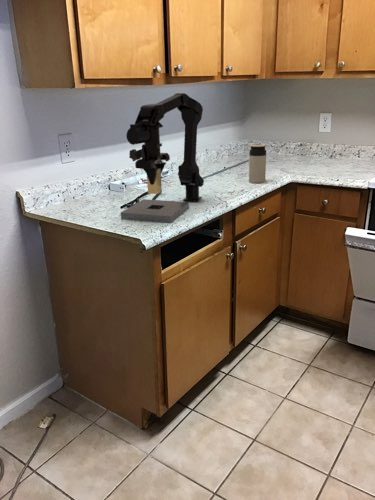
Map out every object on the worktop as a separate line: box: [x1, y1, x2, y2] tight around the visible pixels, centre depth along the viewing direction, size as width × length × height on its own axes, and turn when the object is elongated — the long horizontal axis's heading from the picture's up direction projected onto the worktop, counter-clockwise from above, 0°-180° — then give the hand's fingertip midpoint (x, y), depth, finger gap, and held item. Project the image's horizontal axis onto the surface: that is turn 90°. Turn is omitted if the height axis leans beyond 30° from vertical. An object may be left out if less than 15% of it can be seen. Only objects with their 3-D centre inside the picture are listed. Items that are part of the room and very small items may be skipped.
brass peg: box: [146, 168, 163, 195], centre depth 167 cm, size 4×4×9 cm
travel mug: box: [248, 143, 267, 184], centre depth 214 cm, size 8×8×18 cm
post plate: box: [120, 198, 190, 224], centre depth 171 cm, size 20×20×2 cm
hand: (154, 183), depth 167 cm, fingers closed on brass peg, 4 cm apart
